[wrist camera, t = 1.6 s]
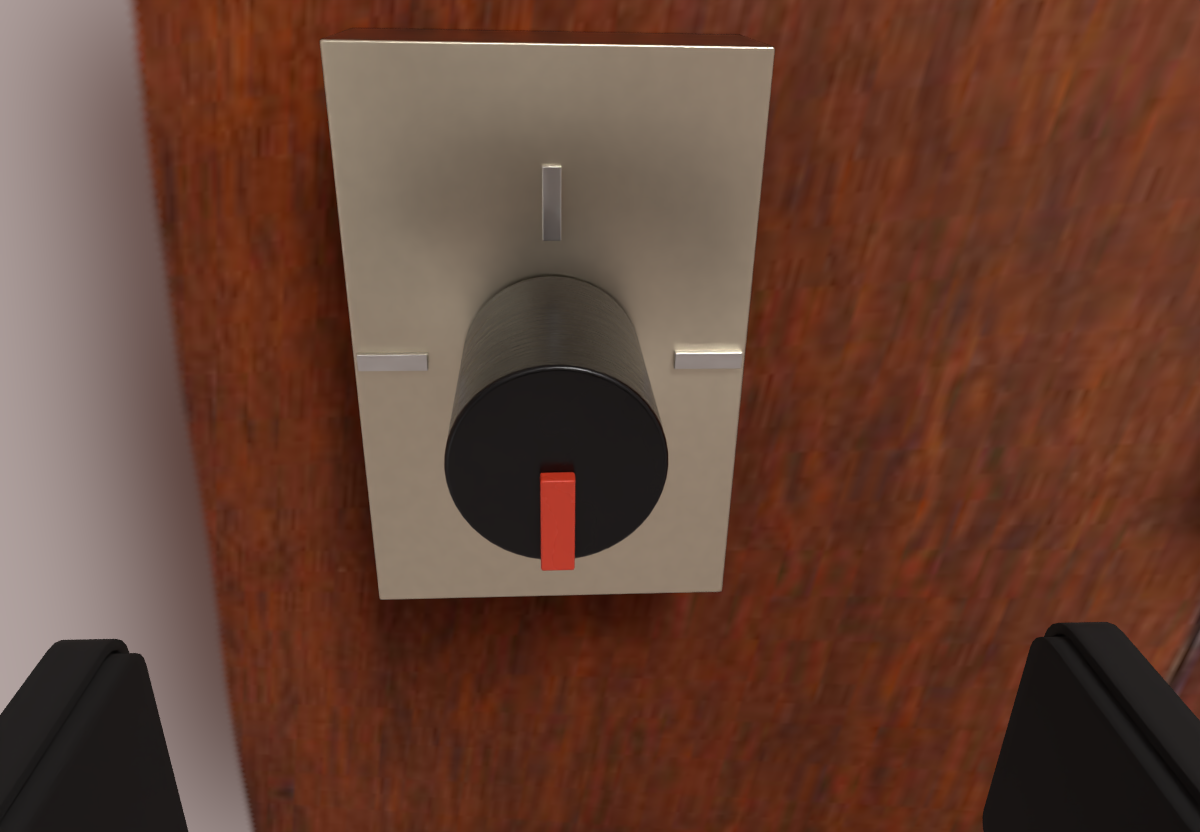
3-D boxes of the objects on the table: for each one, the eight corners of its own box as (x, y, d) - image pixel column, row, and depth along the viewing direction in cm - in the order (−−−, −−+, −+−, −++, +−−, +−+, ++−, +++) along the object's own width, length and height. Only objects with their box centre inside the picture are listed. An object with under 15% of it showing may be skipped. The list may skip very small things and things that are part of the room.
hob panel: (350, 27, 18) (316, 39, 16) (741, 34, 19) (777, 46, 16) (396, 528, 24) (378, 605, 21) (701, 523, 24) (723, 596, 21)
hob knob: (459, 274, 18) (435, 374, 13) (643, 274, 18) (678, 373, 14) (466, 439, 19) (447, 575, 15) (636, 437, 20) (665, 571, 15)
